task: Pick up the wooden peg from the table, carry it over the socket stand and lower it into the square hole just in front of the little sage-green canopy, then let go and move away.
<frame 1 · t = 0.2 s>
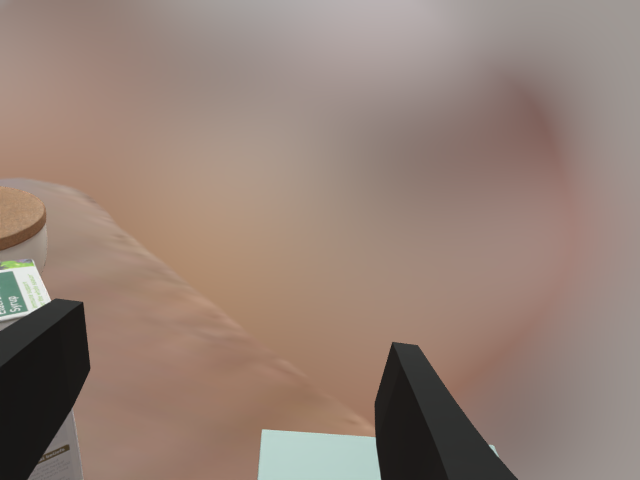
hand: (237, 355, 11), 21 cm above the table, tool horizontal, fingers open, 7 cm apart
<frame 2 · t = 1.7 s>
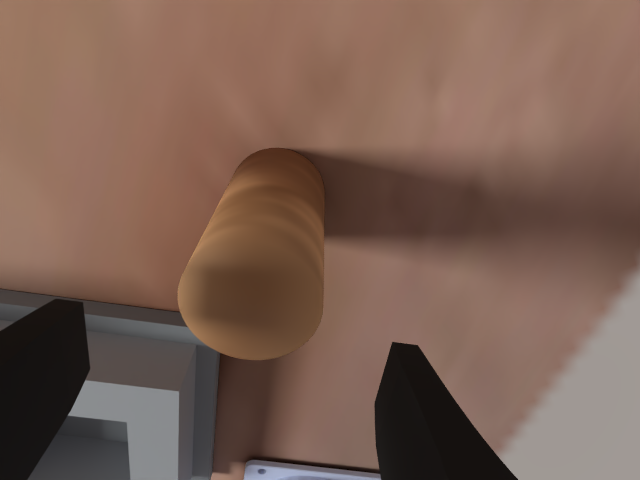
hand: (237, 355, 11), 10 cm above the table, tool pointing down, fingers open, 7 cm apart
socket stand: (22, 380, 25), on the table
peg: (278, 193, 20), on the table
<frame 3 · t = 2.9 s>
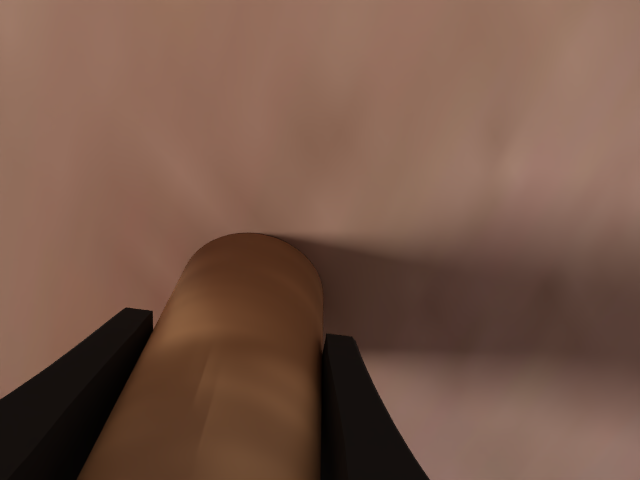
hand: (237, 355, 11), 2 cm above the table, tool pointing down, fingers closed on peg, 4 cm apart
peg: (252, 295, 13), on the table, touching gripper
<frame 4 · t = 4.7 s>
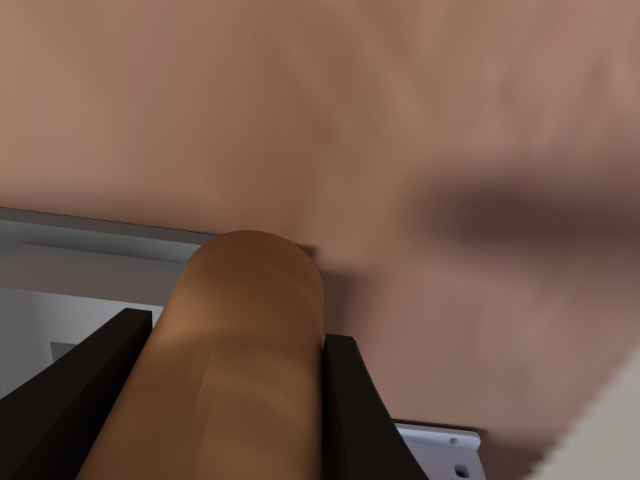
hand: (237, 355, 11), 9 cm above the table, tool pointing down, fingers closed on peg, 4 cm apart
socket stand: (62, 324, 23), on the table
peg: (253, 293, 13), point 7 cm above the table, touching gripper
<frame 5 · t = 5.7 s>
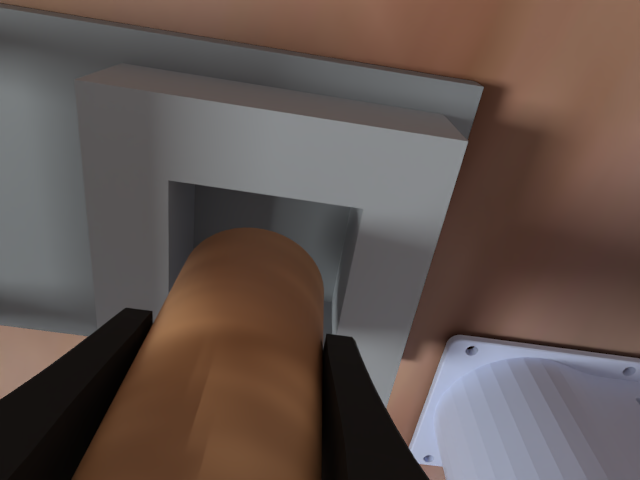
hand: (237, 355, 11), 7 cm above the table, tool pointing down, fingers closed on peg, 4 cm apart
socket stand: (152, 202, 17), on the table
peg: (252, 291, 13), point 5 cm above the table, touching gripper
when the fingers open (5 cm above the table, at t = 6.5 s): peg drops 1 cm, resting on socket stand.
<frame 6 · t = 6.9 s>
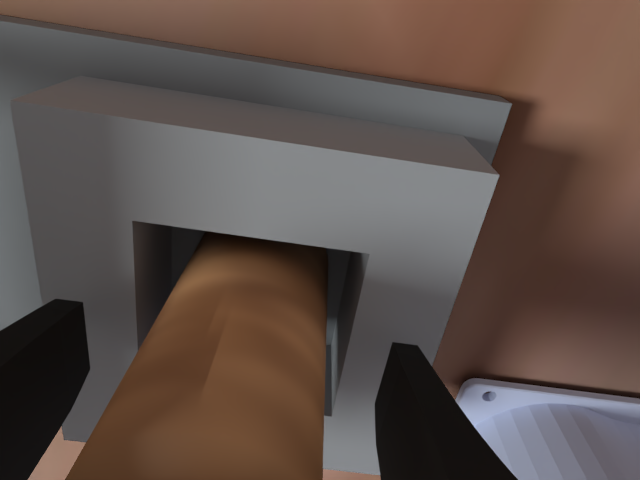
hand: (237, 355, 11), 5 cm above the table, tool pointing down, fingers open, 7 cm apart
socket stand: (124, 233, 15), on the table
peg: (263, 264, 14), point 1 cm above the table, touching socket stand
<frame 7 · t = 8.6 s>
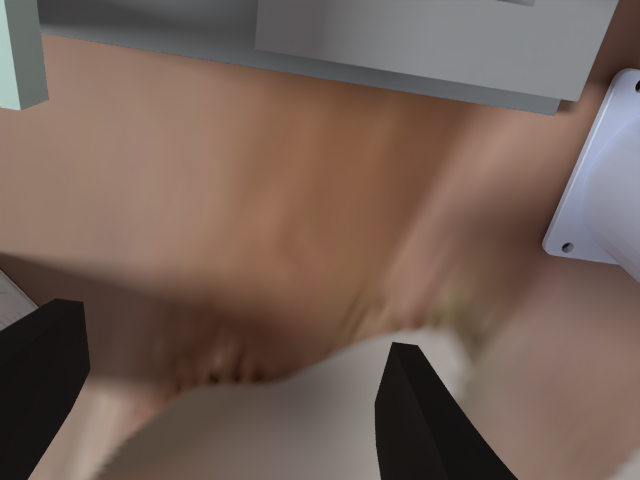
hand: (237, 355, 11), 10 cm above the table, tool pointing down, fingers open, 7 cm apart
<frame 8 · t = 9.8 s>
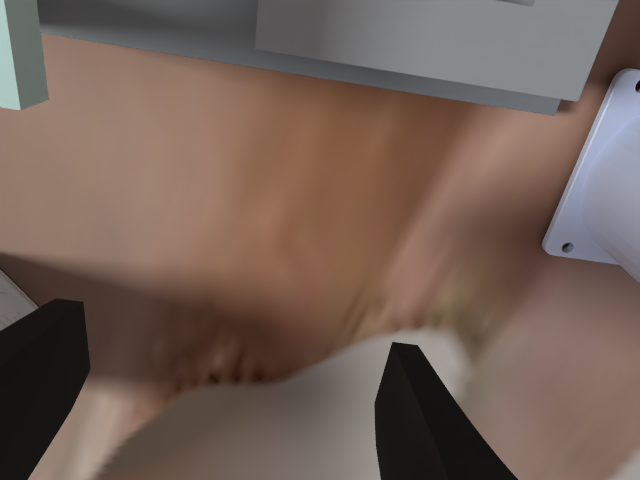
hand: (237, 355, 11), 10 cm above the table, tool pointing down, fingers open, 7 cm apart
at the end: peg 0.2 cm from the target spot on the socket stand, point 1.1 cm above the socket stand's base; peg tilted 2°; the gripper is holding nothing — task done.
